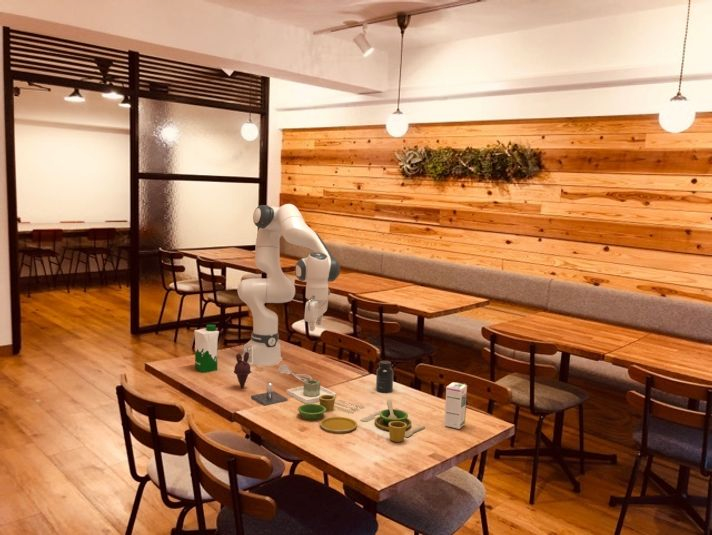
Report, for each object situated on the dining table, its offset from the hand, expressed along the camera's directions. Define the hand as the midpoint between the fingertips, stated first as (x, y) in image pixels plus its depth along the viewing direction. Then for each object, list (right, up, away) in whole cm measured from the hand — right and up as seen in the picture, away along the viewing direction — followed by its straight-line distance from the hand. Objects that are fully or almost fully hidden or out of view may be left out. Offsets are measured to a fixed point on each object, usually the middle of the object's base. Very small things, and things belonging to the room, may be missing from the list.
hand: (315, 327), depth 241 cm
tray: (-1, -26, -6) cm, 27 cm away
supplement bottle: (+28, -26, +4) cm, 38 cm away
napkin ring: (-1, -26, -6) cm, 26 cm away
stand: (-17, -26, -12) cm, 33 cm away
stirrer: (-9, -24, +14) cm, 29 cm away
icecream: (-29, -25, -2) cm, 38 cm away
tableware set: (+17, -31, -30) cm, 47 cm away
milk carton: (-49, -21, +19) cm, 57 cm away
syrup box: (+51, -32, -29) cm, 67 cm away
